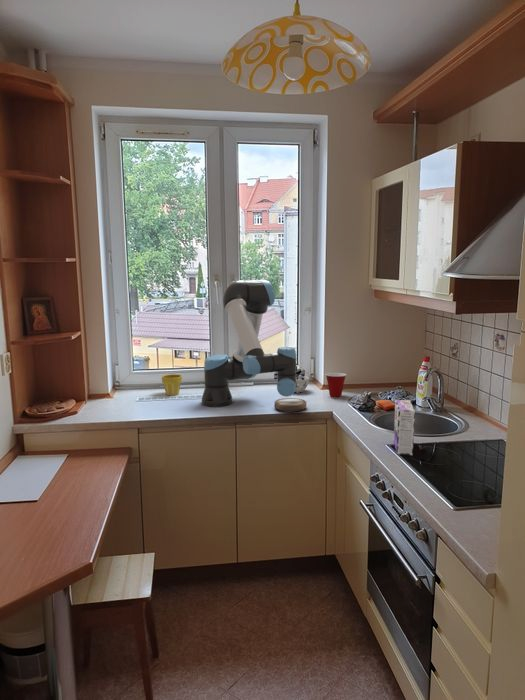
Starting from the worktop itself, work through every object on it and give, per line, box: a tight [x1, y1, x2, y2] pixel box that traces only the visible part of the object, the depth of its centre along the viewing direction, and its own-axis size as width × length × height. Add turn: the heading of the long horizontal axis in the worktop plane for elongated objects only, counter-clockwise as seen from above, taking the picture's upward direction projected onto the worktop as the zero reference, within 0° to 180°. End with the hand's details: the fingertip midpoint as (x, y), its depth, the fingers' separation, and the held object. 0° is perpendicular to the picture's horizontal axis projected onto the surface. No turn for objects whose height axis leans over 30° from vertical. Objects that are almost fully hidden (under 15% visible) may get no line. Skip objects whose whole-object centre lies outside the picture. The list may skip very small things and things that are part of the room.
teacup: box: [295, 375, 310, 394], centre depth 263 cm, size 15×12×8 cm
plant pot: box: [161, 373, 183, 396], centre depth 259 cm, size 10×10×10 cm
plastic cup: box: [325, 372, 347, 398], centre depth 251 cm, size 11×11×12 cm
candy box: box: [393, 399, 416, 456], centre depth 179 cm, size 14×6×16 cm, turn 169°
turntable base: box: [277, 409, 304, 413], centre depth 232 cm, size 12×12×1 cm
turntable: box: [274, 397, 307, 412], centre depth 231 cm, size 15×15×2 cm
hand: (291, 369), depth 234 cm, fingers closed on condiment, 6 cm apart
